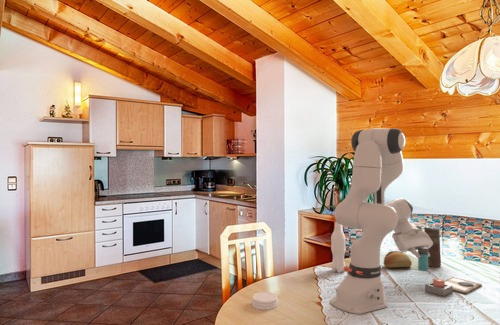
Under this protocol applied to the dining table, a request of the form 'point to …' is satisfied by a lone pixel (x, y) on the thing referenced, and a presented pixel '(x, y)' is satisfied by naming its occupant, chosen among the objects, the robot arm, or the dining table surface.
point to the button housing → (438, 289)
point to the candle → (434, 247)
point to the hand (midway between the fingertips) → (424, 257)
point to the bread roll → (397, 260)
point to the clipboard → (462, 285)
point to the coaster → (264, 301)
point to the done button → (439, 283)
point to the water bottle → (338, 249)
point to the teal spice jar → (423, 259)
